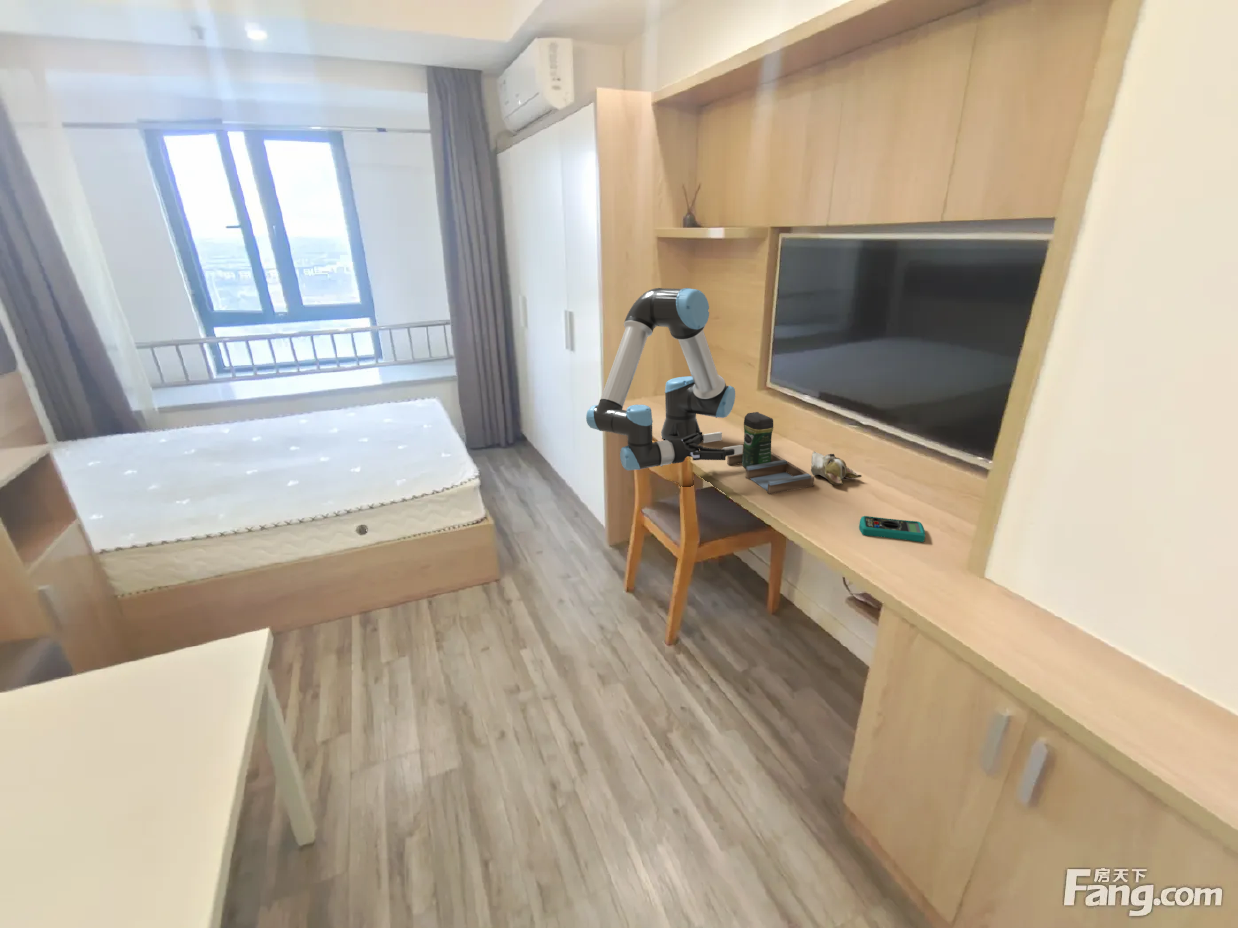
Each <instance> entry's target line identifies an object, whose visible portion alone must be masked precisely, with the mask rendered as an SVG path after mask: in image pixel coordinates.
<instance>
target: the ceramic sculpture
mask: <svg viewBox="0 0 1238 928" xmlns="http://www.w3.org/2000/svg"><path fill="white" fill-rule="evenodd" d="M810 466H811V469H810V473H811V474H812V476H819V475H820V476H821V477H823V478H825V479H826V480H827V481H828V482H829V483H830V484H831V485H836V486H843V485H844V483H843V479H844V478H846V479H857V478H863V475H862V474H857V473H856V472H855V471H854V470H853V469H852V468H850V467H849V466H847V463H846V462H845V461H844V460H843V459H841V458H839V457H837V456H836V455H835V454H834V453H829V454H826V455H824V454H822V453H819V452H816V451H813V452H812V454H811V465H810Z"/></svg>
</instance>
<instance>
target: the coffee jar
mask: <svg viewBox="0 0 1238 928" xmlns="http://www.w3.org/2000/svg"><path fill="white" fill-rule="evenodd" d="M743 418H744V419H743V430H744V431H743V432H744V435H743V456H742V463H741V465H742V467H743V468H745V469H746V466H751V465H757V464H763V463H769V462H771V452H772V438H773V437H772V436H773V431H774V419H773V418H772V417H770V416H768V415H765V414H762V413H760V412H759V411H755V412H748V413H747V414H746V415H745V416H744V417H743Z"/></svg>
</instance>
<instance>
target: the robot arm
mask: <svg viewBox="0 0 1238 928" xmlns="http://www.w3.org/2000/svg"><path fill="white" fill-rule="evenodd" d="M709 309H710V306H709V301H708V299H707V297H706V295H705V293H703V292H702V291H701V290H699V289H695V288H689V287H684V288H667V287H666V288H663V287H657V288H656V287H655V288H651V289H648V291H647V290H646V291H645V292H644V293H643V294H641V295H640V296H639V297H638V298H637V300H635V302H634V303H633V304H632V305H631V307H630V308H629V311H628V312H627V315H626V316H625V319H624V322H623V326H624V331H623V334H622V338H621V340H620V342H619V345H618V349H617V352H616V354H615V357H614V360H613V363H612V366H611V368H610V371H609V374H608V376H607V379H606V383H605V385H604V389H603V390H602V393H601V397H600V399H599V402H598V404H594V405H591V406H590V407H589V408H588V410H587V412H586V415H585V416H586V417H585V418H586V423H587V426H588V427H589V428H591V429H593V430H598V431H599V432H606V433H607V432H608V433H611V434H612V433H613V434H617V435H622V436H626V437H627V445H625V446H622V447H621V448H620V453H619V456H620V457H619V459H620V463H621V465H622V468H624V470H626V471H636V470H638V471H640V470H643V469H649V468H653V467H659V466H660V467H663V466H667V465H671V464H674V465H675V464H679V463H684V461H685V460H686V459H687V457H688V458H689V457H690V458H692V461H725V460H726V457H727V456H731V455H737V454H742V453H743V446H744V444H738V445H731V446H725V447H722V448H717V447H704V446H703V445H699V444H701V443H703V444H708V443H712V442H718V441H719V442H720V441H722V439H723V432H722V431H716V432H710V433H704V434H703V432H702V431H701V429H700V427H699V423H698V420H697V419H698V418H697V415H700V416H706V417H712V418H722V419H723V418H727V417H728V416H729V415H730V413H731V412H732V410H733V408H734V404H735V399H736V388H734V387H733V386H731V385H727V383H726V380H725V379H724V377H722V376H721V375H719V374H718V370H717V368H716V364H715V362H714V359H713V356H712V352H711V349H710V346H709V344H708V341H707V337H706V335H705V332H704V329H705V327H706V324H707V323H708V320H709V318H710V317H709V316H710V312H709ZM656 327H663V328H668V332H669V333H670V336H671V337H672V338H673V339H675V340H678V343H679V346H680V348H681V351H682V354H683V356H684V359H685V361H686V365H687V367H688V370H689V371H690V372H689V373H690V376H679V377H673V378H671V379H669V380H667V381H666V382H665V389H664V397H665V401H664V402H665V418H664V422H663V424H662V428H661V431H660V433H661V434H660V437H661V436H662V438H663V439H665V440H663V439H662V438H661V439H662V440H657V441H653V422H654V420H653V414H652V413H653V412H652V408H651V407H650V406H649V405H645V404H633V405H629V406H628V407H627V408H626V409H623V408H624V405H625V402H626V399H627V397H628V394H629V391H630V387H631V385H632V383H633V379H634V376H635V373H636V371H637V368H638V366H639V362H640V360H641V357H642V354H643V351H644V348H645V345H646V342H647V339H648V337H650V336H652V335H653V333H654V330H655V328H656Z"/></svg>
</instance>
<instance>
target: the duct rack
mask: <svg viewBox="0 0 1238 928" xmlns="http://www.w3.org/2000/svg"><path fill="white" fill-rule="evenodd" d="M742 456H743V453H742V454H737V455H731V456H726V458H727V459H726V461H727V462H726V464H727V465H728V466H732V464H733V465H737V464H738V463H739V464H742ZM745 469H746V474H745V478H746V479H748V480H749V479H750V480H751V481H752V482H754V483H755V484H756V485H758V486H760V487H761V488H763V489H764V490H765V491H767V494H769V495H774V494H781V493H784V492H790V491H795V490H800V489H801V490H802V489H806V488H810V487H814V484H815V483H814V481H815V476H814V475H811V474H810V473H808V472H806V471H805V470H803V469H801V468H800V467H798V466H796V465H794V464H792V463H791V462H789V461H788V460H787V459H784V458H783V457H781V456H779V455H777V454H776V453H774V452H773V451H771V462H769V463H763V464H757V465H751V466H746V468H745Z"/></svg>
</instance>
